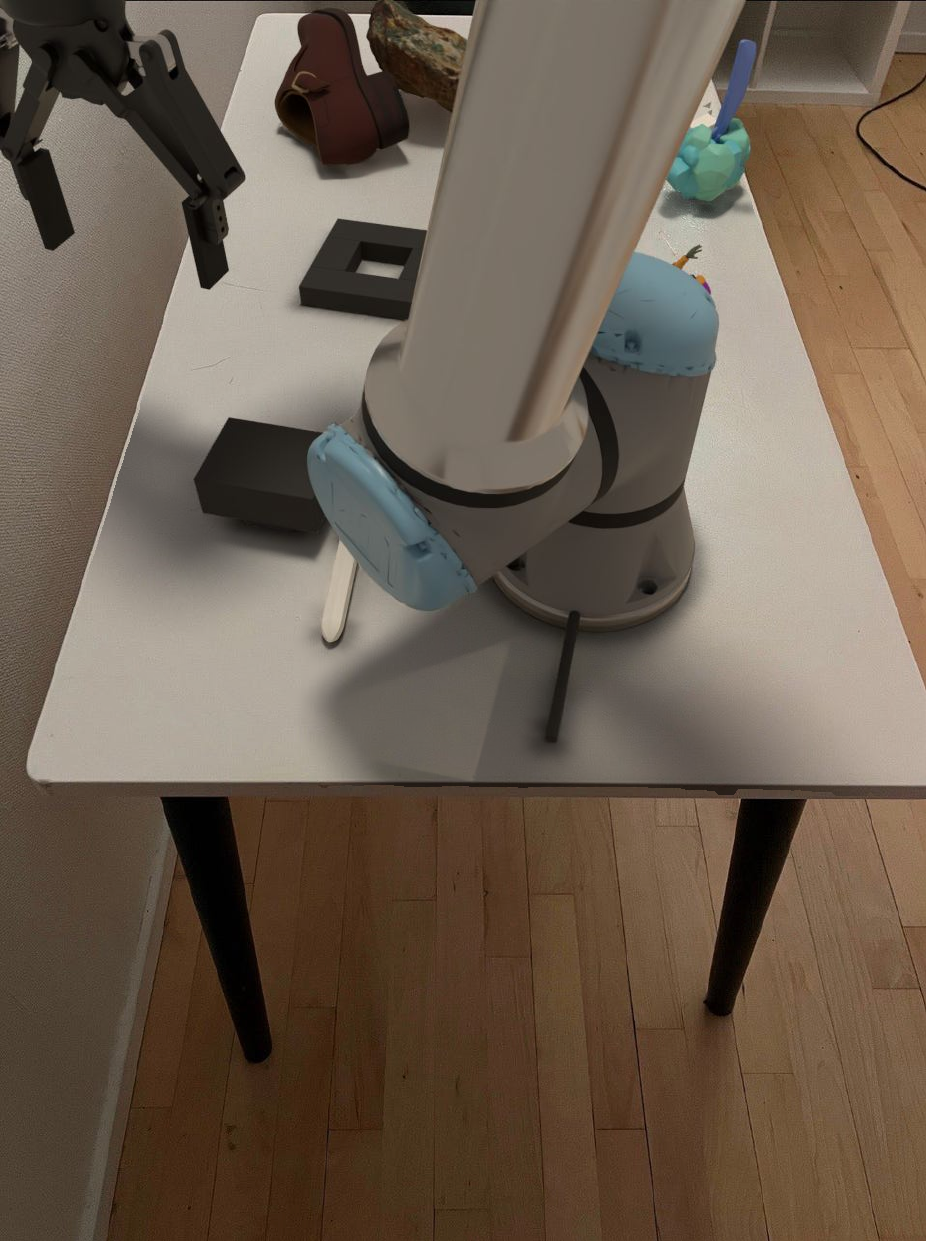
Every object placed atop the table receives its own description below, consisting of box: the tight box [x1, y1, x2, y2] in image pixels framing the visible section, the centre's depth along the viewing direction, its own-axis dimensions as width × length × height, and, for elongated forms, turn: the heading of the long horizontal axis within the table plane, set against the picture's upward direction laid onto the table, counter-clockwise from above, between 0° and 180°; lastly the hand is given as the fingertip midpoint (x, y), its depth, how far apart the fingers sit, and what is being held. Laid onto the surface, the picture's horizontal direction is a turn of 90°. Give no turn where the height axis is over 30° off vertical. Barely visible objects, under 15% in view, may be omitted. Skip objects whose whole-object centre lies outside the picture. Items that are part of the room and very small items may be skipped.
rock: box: [365, 0, 468, 114], centre depth 117 cm, size 22×8×15 cm
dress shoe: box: [274, 7, 411, 166], centre depth 118 cm, size 9×28×12 cm
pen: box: [320, 539, 358, 643], centre depth 77 cm, size 2×14×2 cm, turn 175°
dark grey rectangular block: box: [193, 416, 326, 534], centre depth 80 cm, size 9×7×6 cm
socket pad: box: [298, 218, 427, 321], centre depth 101 cm, size 12×12×2 cm
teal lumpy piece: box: [666, 38, 757, 202], centre depth 105 cm, size 11×9×15 cm
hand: (136, 260), depth 78 cm, fingers open, 13 cm apart
